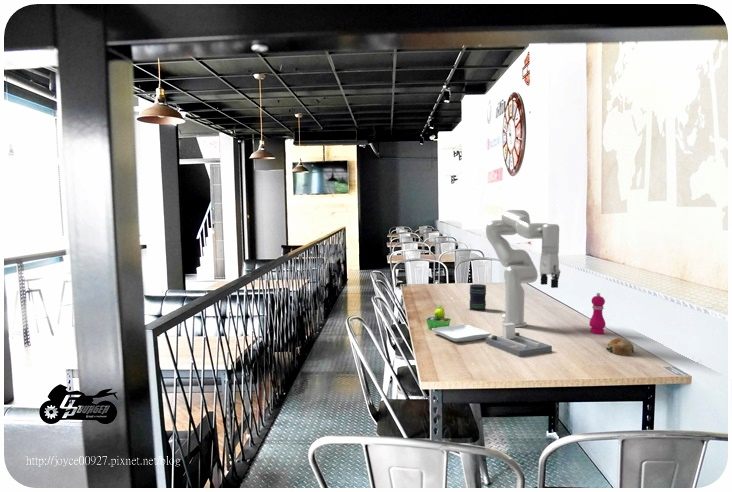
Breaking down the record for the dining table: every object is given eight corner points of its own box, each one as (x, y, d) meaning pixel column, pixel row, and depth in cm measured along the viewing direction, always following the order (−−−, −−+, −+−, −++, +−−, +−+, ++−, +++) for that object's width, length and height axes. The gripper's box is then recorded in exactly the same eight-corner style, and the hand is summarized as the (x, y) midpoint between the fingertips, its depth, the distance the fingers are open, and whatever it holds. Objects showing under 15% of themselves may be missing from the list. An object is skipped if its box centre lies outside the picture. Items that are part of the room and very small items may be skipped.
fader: (501, 338, 219) (502, 324, 219) (511, 337, 221) (511, 322, 221) (505, 339, 217) (506, 325, 216) (515, 338, 219) (515, 324, 218)
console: (485, 343, 220) (485, 335, 220) (516, 339, 227) (516, 331, 227) (519, 356, 200) (519, 347, 200) (551, 351, 207) (551, 342, 207)
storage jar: (487, 311, 291) (487, 286, 290) (471, 311, 291) (471, 286, 290) (483, 307, 301) (484, 284, 300) (467, 307, 301) (468, 284, 300)
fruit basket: (425, 329, 247) (425, 307, 246) (431, 325, 255) (431, 304, 254) (446, 331, 242) (446, 309, 241) (452, 327, 250) (452, 306, 249)
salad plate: (430, 334, 238) (430, 327, 238) (466, 330, 246) (466, 323, 246) (454, 345, 219) (454, 337, 218) (492, 340, 227) (492, 333, 227)
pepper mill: (607, 334, 235) (608, 294, 234) (591, 334, 236) (592, 293, 235) (602, 331, 242) (604, 291, 241) (587, 330, 244) (588, 291, 242)
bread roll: (627, 365, 200) (637, 349, 198) (603, 351, 205) (613, 335, 203) (629, 358, 209) (638, 343, 206) (605, 345, 213) (615, 330, 211)
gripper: (533, 248, 235) (533, 283, 237) (552, 251, 218) (551, 289, 220) (548, 248, 236) (547, 283, 238) (567, 251, 219) (566, 288, 221)
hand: (549, 286), depth 229 cm, fingers open, 9 cm apart
